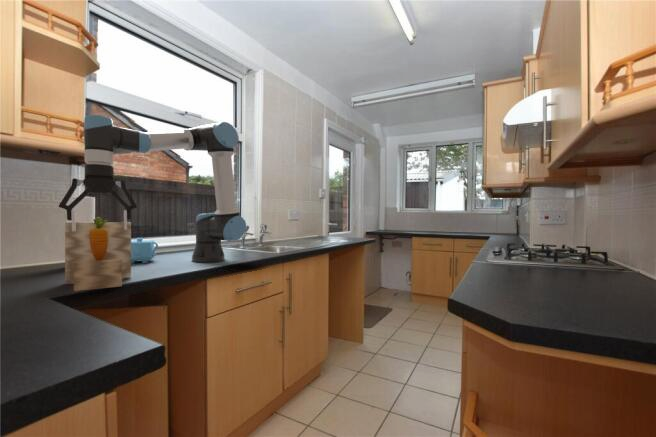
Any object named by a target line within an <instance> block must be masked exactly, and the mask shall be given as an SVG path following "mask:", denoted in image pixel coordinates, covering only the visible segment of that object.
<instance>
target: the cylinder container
mask: <svg viewBox="0 0 656 437" xmlns="http://www.w3.org/2000/svg"><path fill="white" fill-rule="evenodd" d="M78 196H79V195H75V196H74V195H72V196H71V198H70V199H69V201H68V202H67V204H66V205H68V206H69V205H70V204H71V203H72V202H73V201H74V200H75V199H76V198H77V197H78ZM72 210H75V219H76V222H94V219H96V197H95V196H93V197H92V196H86V197H84V198H83V199H82V200H81V201H80V202H79V203H78V204H77V205H76V206H75V207H74V208H73V209H72ZM66 222H72V220H67V219H66Z"/></svg>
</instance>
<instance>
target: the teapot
mask: <svg viewBox="0 0 656 437" xmlns="http://www.w3.org/2000/svg"><path fill="white" fill-rule="evenodd" d="M158 247H159V245H158V243H157V242H156V241H155V240H144V238H143V237H137V238H136V240H131V265H132V264H135V262H137V261H141V263H142V264H147V263H149V262H150V261H152V260H153V259H154V258H155V257H156V256H157V252H155V251H157V250H158Z"/></svg>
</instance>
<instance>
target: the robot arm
mask: <svg viewBox="0 0 656 437" xmlns="http://www.w3.org/2000/svg"><path fill="white" fill-rule="evenodd" d="M239 138H240V137H239V133H238V131H237V130H236V128H235V127H234V126H233V125H232V124H231V123H230V122H226V121H217V122H214V123H209V124H204V125H203V124H202V125H200V126H196V127H191V128H183V129H181V130H180V131H154V132H153V131H152V132H150V131H149V132H144V131H141V130H136V129H131V128H126V127H121V126H117V125H114V122H113V119H112V118H111V117H108V116H105V115H102V114H88V115H85V116H84V119H83V141H84V142H83V143H84V150H83V152H84V163H86V164H85V165H84V179H79V178H75V177H74V178H72V179H71V186H70V187H69V188H68V191H67V192H66V193H65V195H64V196H63V198H62V200H61V201H60V203H59V205H58V207H59V208H60V209H63V210H66V221H67V220H72V231H76V219H75V210H72V209H73V208H74V207H75V206H76V205H77V204H78V203H79V202H80V201H81V200H82V199H83V198H84V197H88V195H89V194H91V193H92V194H103V195H104V194H105V195H106V194H108V193H109V194H110V195H111V196H112V197H113V198H115V199H116V201H117V202H119V203H120V204H121V206H123V207H124V208H125V209H124V210H123V222H124V230H127V222H128V220H131V218H132V213H131V212H132V210H134V209H136V208H138V206H137V204H136V202H135V200H134V199H133V197H132V196H131V194H130V192H129V190H128V188H127V187H126V181H125V180H120V181H117V180H116V181H115V179H114V178H115V176H114V172H115V170H114V169H115V168H114V167H113V165H114V156H115V155H123V154H134V153H138V154H139V153H140V154H147V153H148V152H157V151H158V152H159V151H169V150H171V151H172V150H185V151H203V152H204V151H207V155H209V156H210V157H211V164H212V173H213V175H212V176H213V184H214V193H215V204H216V206H215V207H216V210H215V211H214V212H209V213H206V212H205V213H200V214H197V216H196V218H195V246H194V249H193V252H192V254H191V255H192V256H191V261H192V262H194V263H217V262H222V261H225V259H226V258H225V252H224V250H223V247H222V241H226V242H236V241H239V240H240V239H242V237H243V236H244V235H245V233H246V229H247V222H246V220H245V219H244V217H242V216H241V212H240V210H239V209H238V208H237V206H236V205H237V204H236V195H235V194H236V193H235V182H234V173H233V172H234V171H233V162H232V161H233V160H232V158H233V157H232V156H233V155H234V154H235V148H236V147H237V145H238V144H239ZM81 184H83V185H84V186H85V187H86V188H85V189H84V190H83V192H82V193H80V194H79V195H77V196H78V197H77V198H76V199H75V200H74V201H73V202H72V203H71V204H70V205H69V206H68V205H67V202H68V201H69V199H70V198H71V196H73V194H74V193H75V191H76V189H77V188H78V187H80V186H81ZM116 185H117V186H118V188H120V189H121V190H122V193H124V196H126V199H127V201H128V202H129V204H130V205H129V204H128V203H127V202H125V200H124V199H123V198H121V197H120V195H119V194H118V193H117V192H115V191H114V190H113V188H114V187H115V186H116Z"/></svg>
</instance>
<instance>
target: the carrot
mask: <svg viewBox="0 0 656 437" xmlns="http://www.w3.org/2000/svg"><path fill="white" fill-rule="evenodd" d="M102 220H103V218H101V216H97V217H95V219H94V222H95V224H96V228H93V229H91V230H90V232H89V235H90V246H91V250H92V254H93V256H94V258H95V259H96V261H102V260H103V258H104V256H105V254H106V250H107V245H108V230H107V229H105V228H102V226H103V225H104V223H106V222H109V220H108V219H105V220H103V221H102Z"/></svg>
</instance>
